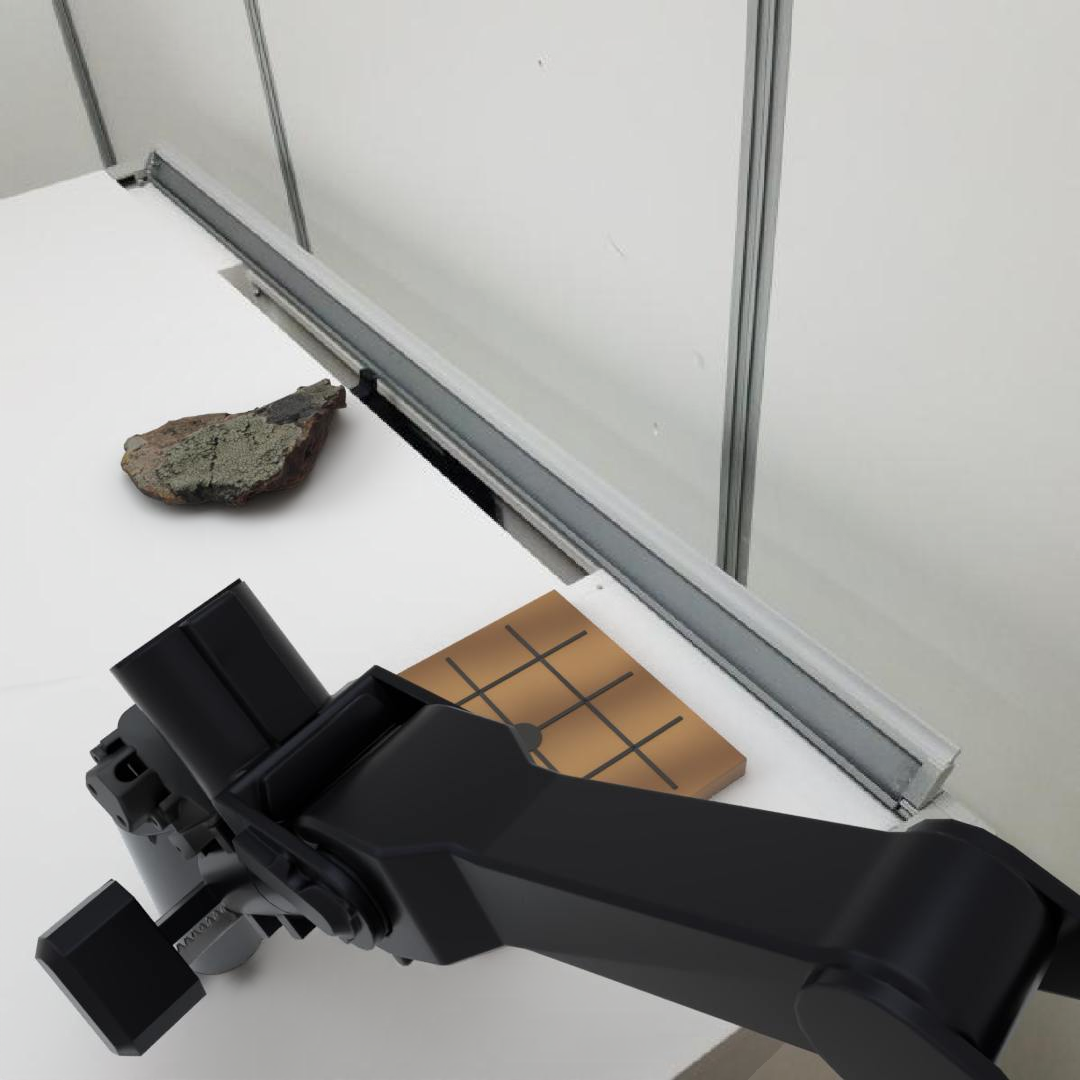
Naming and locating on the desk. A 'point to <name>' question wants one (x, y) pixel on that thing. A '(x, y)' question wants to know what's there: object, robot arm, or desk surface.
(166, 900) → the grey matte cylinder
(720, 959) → the robot arm
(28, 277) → the desk surface
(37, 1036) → the desk surface
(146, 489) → the rock
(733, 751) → the board
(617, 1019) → the desk surface
